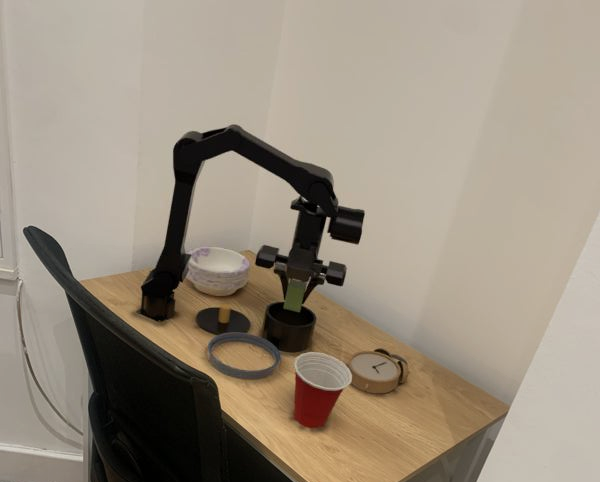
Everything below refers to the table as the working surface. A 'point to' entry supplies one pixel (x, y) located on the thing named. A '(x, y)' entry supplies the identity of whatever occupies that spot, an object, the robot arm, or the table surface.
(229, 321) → the tin lid
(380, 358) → the alarm clock
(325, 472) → the table surface
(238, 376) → the blue-grey round rimmed part
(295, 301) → the green block
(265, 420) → the table surface
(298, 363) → the plastic cup
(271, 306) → the tin
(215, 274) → the paper bowls
